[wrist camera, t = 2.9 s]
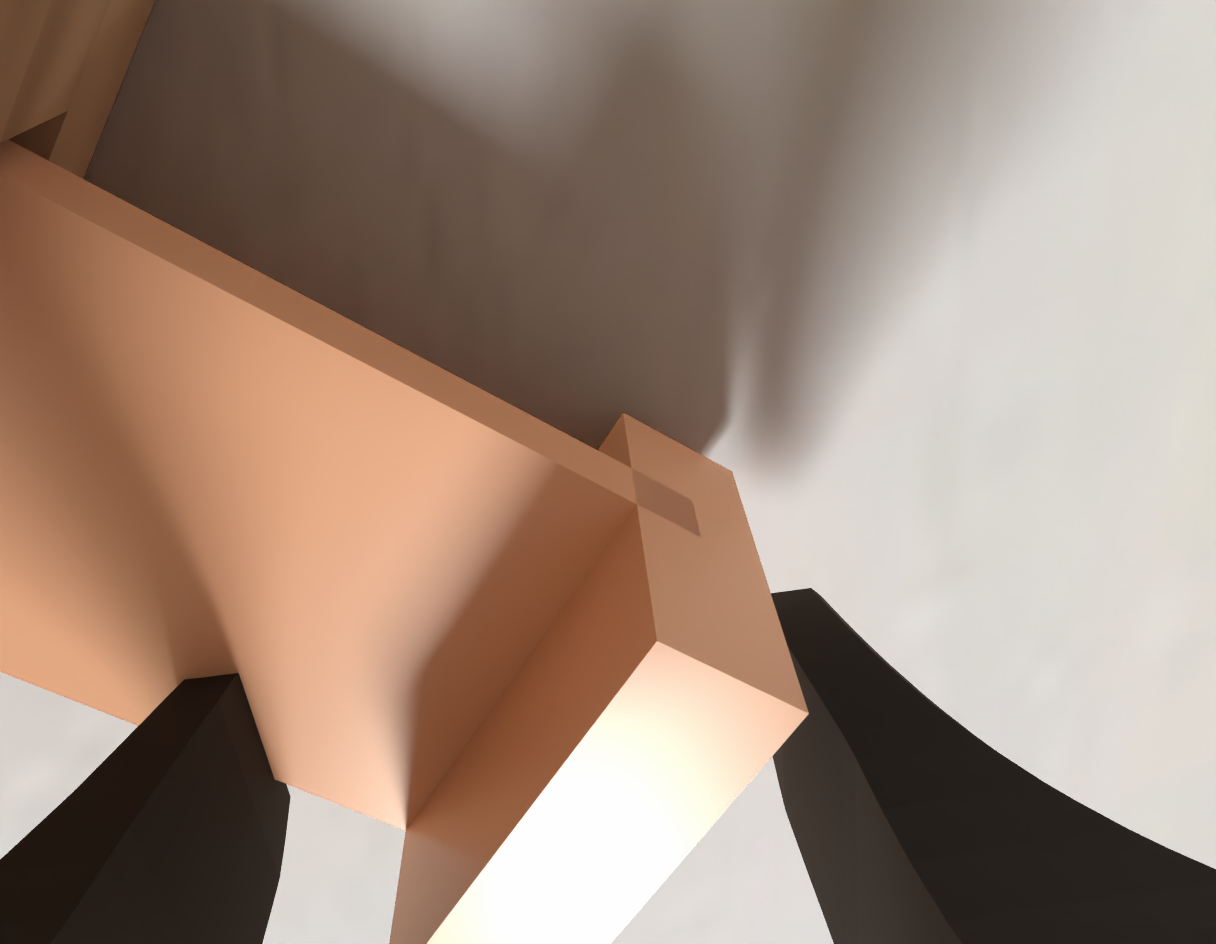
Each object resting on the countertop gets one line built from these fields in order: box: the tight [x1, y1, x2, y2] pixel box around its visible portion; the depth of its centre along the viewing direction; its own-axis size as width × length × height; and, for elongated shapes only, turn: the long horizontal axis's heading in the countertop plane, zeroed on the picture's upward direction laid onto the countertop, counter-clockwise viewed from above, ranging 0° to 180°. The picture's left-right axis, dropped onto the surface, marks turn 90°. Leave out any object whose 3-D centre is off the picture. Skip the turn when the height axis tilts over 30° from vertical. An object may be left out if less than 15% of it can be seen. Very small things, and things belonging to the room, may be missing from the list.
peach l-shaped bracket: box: [0, 140, 809, 944], centre depth 11 cm, size 14×5×5 cm, turn 58°
